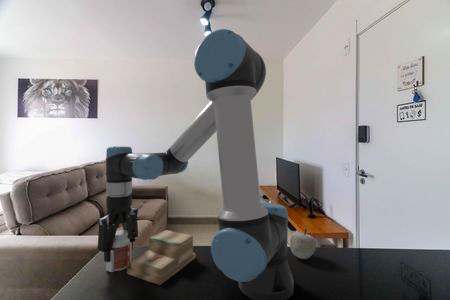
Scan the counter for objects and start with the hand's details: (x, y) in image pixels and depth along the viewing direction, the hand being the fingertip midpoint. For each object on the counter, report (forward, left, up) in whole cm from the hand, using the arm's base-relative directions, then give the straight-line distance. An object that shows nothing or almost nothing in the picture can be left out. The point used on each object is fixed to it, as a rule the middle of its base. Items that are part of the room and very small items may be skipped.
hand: (119, 265), depth 76 cm
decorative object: (-52, -33, -1) cm, 62 cm away
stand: (-12, -7, 0) cm, 14 cm away
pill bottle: (0, 0, -1) cm, 1 cm away
